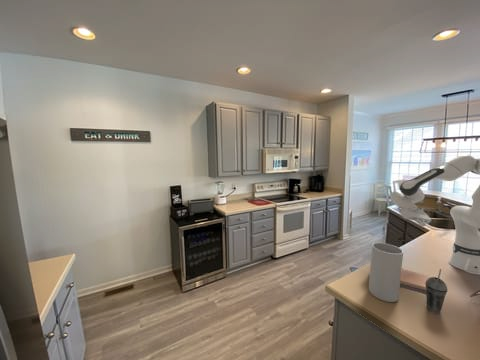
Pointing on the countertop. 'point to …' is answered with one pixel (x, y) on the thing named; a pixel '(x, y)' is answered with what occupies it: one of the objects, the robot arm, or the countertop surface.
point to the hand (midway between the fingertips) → (423, 225)
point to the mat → (412, 288)
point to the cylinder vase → (385, 271)
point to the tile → (413, 279)
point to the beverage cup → (435, 293)
